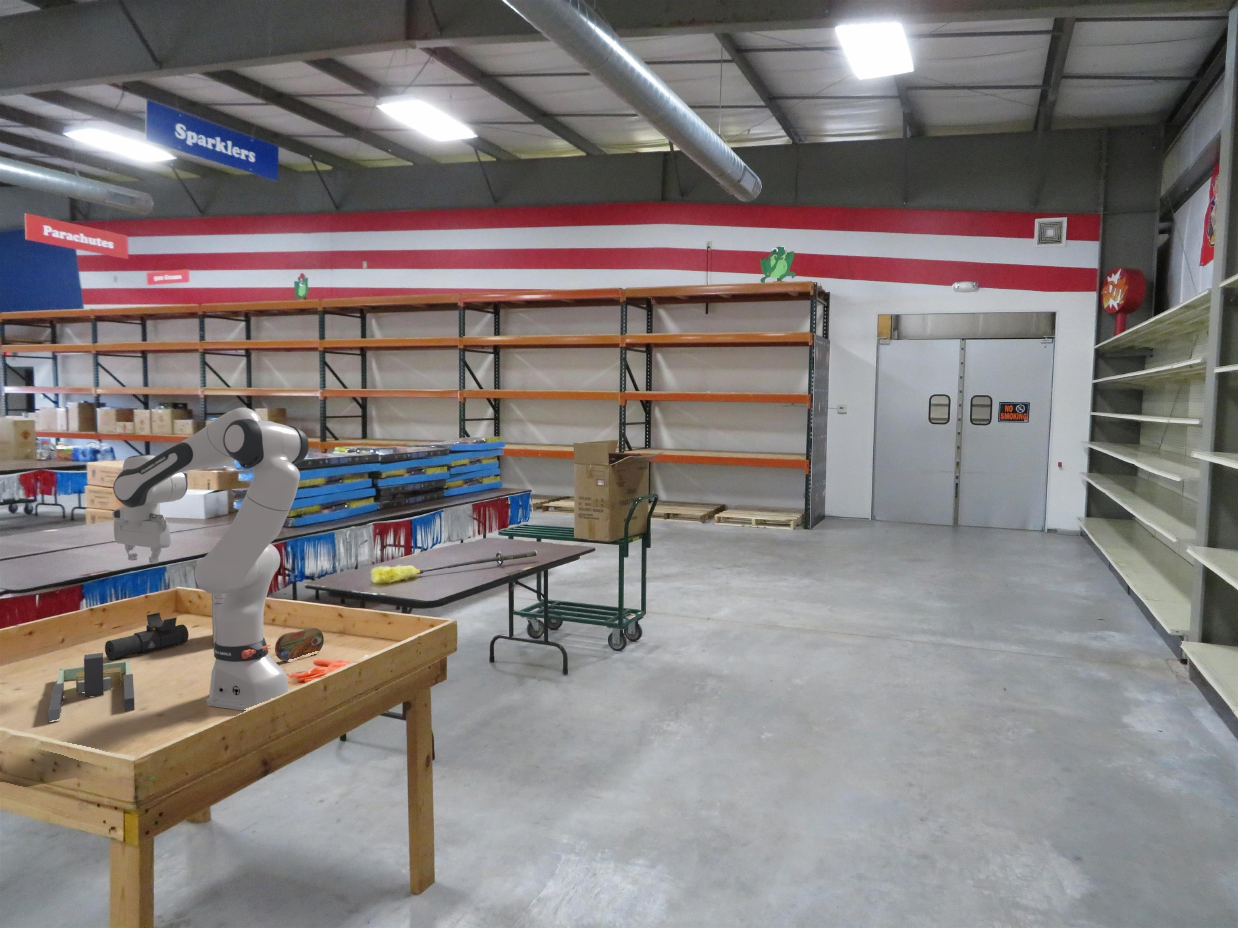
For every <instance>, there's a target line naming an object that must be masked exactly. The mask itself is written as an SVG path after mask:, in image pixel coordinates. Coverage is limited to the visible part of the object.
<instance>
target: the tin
mask: <svg viewBox="0 0 1238 928" xmlns="http://www.w3.org/2000/svg"><path fill="white" fill-rule="evenodd" d="M324 641H325V637H324V634H323V632H322V631H321V630H320V629H318V628H315V627H306V628H301V629H299V630H294V631H290V632H287V633H283V634H282V635H281V636H280V637H278V639H277V640H276V642H275V644H274V645H275V647H274V652H275V656H276V657H277V659H278V660H280V661H282V660H283V662H285V661H288V660H289V659H294V658H297V657H300V656H302V655H306V654H308V653H312V652H315V651H319V652H320V651H321V650H322V649H323V646H324Z"/></svg>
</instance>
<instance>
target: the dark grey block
mask: <svg viewBox="0 0 1238 928" xmlns="http://www.w3.org/2000/svg"><path fill="white" fill-rule="evenodd" d="M103 664H104V652H99V653H89V654H88V653H87V654H84V657H83V666H84V680H83V681H78V692H77V694H78V693H82V692H85V693H84V698H85V697H88V698H91V697H90V696H95V697H101V695H102V696H104V695H105V693H104V691H110V690H111V689H112V687H111V678H110V677H106V678H104V674H103ZM82 694H83V693H82Z"/></svg>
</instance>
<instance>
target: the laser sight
mask: <svg viewBox="0 0 1238 928" xmlns="http://www.w3.org/2000/svg"><path fill="white" fill-rule="evenodd" d="M146 618H147V619H146V620H147V625H146V627H145V628H146V630H142V631H138V632H134V634H133V635H128V636H125V637H120V638H114V639H111V640H107V641H106V642H105V643H104V652H105V656H106V658H107V659H108V660H110V661H111V660H115V659H116V660H117V659H120V658H125V657H129V656H132V655H144V654H148V653H153V652H157V651H160V650H164V649H165V650H166V649H168V648H173V647H177V646H179V645H181V644H185V643H187V642H188V640H189V630H188V628H187V626H186V624H183V623H182V624H178V625H177V616H175V617H171V618H166V619H165V618H164V619H162V618H161V613H160V612H156V613H151V614H147V615H146Z"/></svg>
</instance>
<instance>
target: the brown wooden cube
mask: <svg viewBox="0 0 1238 928" xmlns="http://www.w3.org/2000/svg"><path fill="white" fill-rule="evenodd" d="M103 674H104V678H106V677H110V678H111V688H115V687H116V688H117V687H121V685H122V673H121V667H118V668H109V669H103Z"/></svg>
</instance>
